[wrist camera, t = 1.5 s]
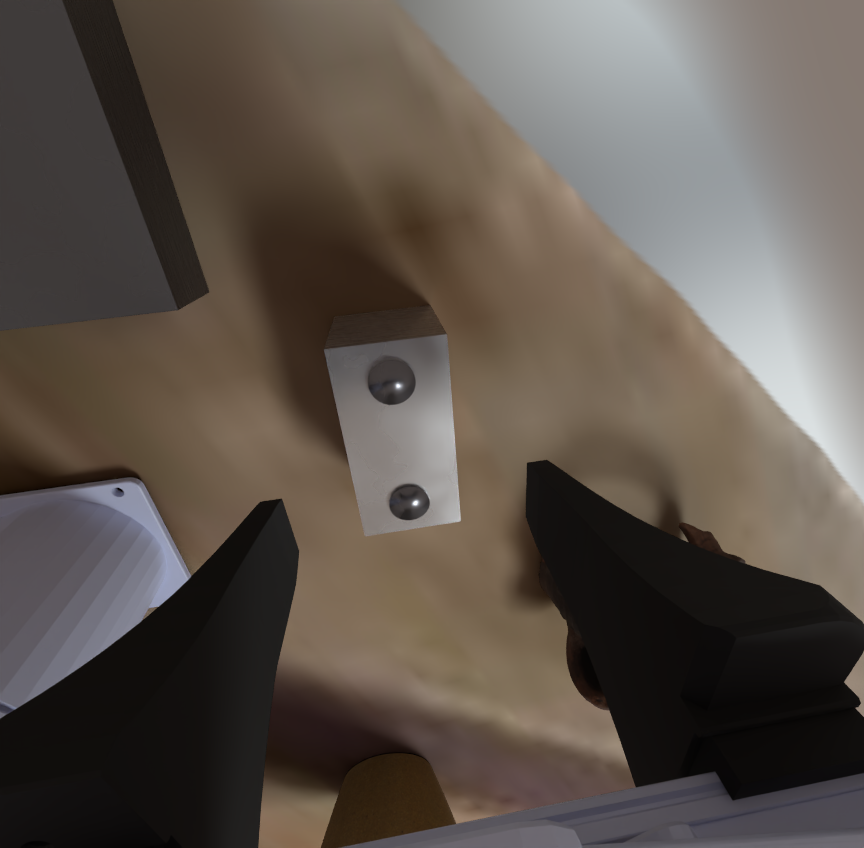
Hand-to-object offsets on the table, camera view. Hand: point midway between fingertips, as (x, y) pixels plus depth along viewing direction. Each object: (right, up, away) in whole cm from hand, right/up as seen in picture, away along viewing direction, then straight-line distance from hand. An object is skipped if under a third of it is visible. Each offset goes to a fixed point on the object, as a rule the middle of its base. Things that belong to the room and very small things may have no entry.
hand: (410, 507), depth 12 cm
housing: (-1, +4, +7) cm, 8 cm away
